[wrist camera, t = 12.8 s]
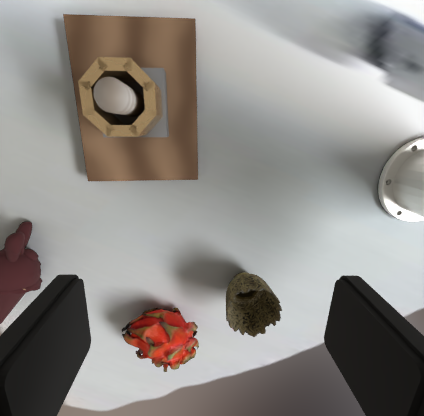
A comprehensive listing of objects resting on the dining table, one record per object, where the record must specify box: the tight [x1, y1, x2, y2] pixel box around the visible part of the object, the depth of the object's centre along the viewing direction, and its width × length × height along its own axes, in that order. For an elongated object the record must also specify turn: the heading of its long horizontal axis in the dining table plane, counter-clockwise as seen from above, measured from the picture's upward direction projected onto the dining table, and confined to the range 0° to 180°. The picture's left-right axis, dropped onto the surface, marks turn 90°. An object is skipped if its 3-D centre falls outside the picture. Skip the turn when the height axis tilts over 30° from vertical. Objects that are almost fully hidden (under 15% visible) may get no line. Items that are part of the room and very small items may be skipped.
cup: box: [226, 272, 282, 337], centre depth 38 cm, size 8×7×8 cm
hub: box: [78, 57, 163, 137], centre depth 25 cm, size 6×6×6 cm
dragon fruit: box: [122, 308, 199, 372], centre depth 39 cm, size 8×8×12 cm
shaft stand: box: [63, 14, 198, 181], centre depth 26 cm, size 14×18×13 cm
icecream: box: [0, 221, 42, 324], centre depth 35 cm, size 7×7×15 cm
